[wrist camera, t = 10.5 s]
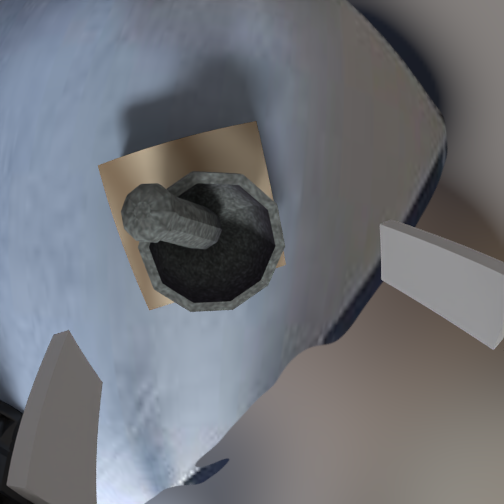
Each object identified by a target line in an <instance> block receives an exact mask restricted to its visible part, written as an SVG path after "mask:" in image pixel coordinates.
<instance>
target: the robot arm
mask: <svg viewBox="0 0 504 504" xmlns="http://www.w3.org/2000/svg"><path fill="white" fill-rule="evenodd" d="M380 240H381V280H383V281H385V282H386V283H388V284H390V285H391V286H393V287H395V288H397V289H398V290H400V291H401V292H403V293H405V294H406V295H408V296H410V297H411V298H413V299H415V300H416V301H418V302H420V303H421V304H423V305H424V306H426V307H428V308H429V309H431V310H432V311H434V312H436V313H437V314H439V315H440V316H442V317H444V318H445V319H447V320H448V321H450V322H452V323H453V324H455V325H456V326H458V327H459V328H461V329H462V330H464V331H465V332H467V333H468V334H470V335H472V336H473V337H475V338H476V339H478V340H479V341H481V342H482V343H484V344H485V345H487V346H488V347H490V348H491V349H493V350H494V349H495V348H496V347H497V345H498V344H499V343H500V342H501V341H502V339H503V337H504V262H502V261H500V260H497V259H495V258H493V257H490V256H488V255H486V254H483V253H481V252H478V251H476V250H473V249H471V248H468V247H466V246H463V245H461V244H458V243H456V242H453V241H451V240H448V239H445V238H443V237H440V236H437V235H434V234H432V233H429V232H426V231H423V230H421V229H418V228H415V227H412V226H409V225H406V224H403V223H400V222H397V221H394V220H389V221H387V222H384V223H381V224H380ZM102 383H103V382H102V381H101V380H100V378H99V377H98V375H97V374H96V372H95V371H94V370H93V368H92V367H91V365H90V364H89V362H88V361H87V359H86V357H85V356H84V354H83V353H82V351H81V350H80V348H79V346H78V345H77V343H76V341H75V340H74V338H73V336H72V335H71V333H70V331H69V330H67V331H64V332H61V333H58V334H54V335H53V338H52V340H51V342H50V344H49V346H48V349H47V351H46V353H45V356H44V358H43V361H42V363H41V366H40V368H39V371H38V373H37V376H36V378H35V381H34V384H33V386H32V389H31V392H30V395H29V398H28V401H27V404H26V407H25V410H24V413H23V414H22V413H20V412H19V411H17V410H16V409H14V408H13V407H11V406H10V405H8V404H6V403H4V402H2V401H0V504H97V500H96V454H97V434H98V421H99V410H100V400H101V391H102Z"/></svg>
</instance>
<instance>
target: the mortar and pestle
mask: <svg viewBox="0 0 504 504" xmlns="http://www.w3.org/2000/svg"><path fill="white" fill-rule="evenodd" d="M121 215H122V221H123V226H124V230H126V231H127V232H128V233H129V234H130V235H131V236H132V237H133V238H134V239H135V240H136V241H139V245H138V249H139V252H140V255H141V257H142V260H143V263H144V265H145V268H146V271H147V273H148V276H149V278H150V281H151V283H152V286H153V288H154V290H156V291H157V292H159V293H160V294H162V295H164V296H165V297H167V298H169V299H170V300H172V301H173V302H175V303H177V304H178V305H180V306H182V307H183V308H185V309H187V310H188V311H190V312H196V311H216V310H233V309H235V308H236V307H237V306H239V305H240V304H242V303H243V302H245V301H246V300H248V299H249V298H250V297H252V296H253V295H255V294H256V293H258V292H259V291H261V290H262V289H263V288H265V287H266V286H268V284H269V282H270V280H271V277H272V275H273V273H274V271H275V268H276V266H277V264H278V261H279V259H280V257H281V255H282V252H283V250H284V248H285V243H284V238H283V233H282V227H281V222H280V217H279V212H278V207H277V204H276V203H275V202H274V201H273V200H272V199H271V198H269V197H268V196H267V195H266V194H265V193H264V192H263V191H262V190H260V189H259V188H258V187H257V186H256V185H255V184H254V183H252V182H251V181H250V180H249V179H248V178H247V177H246V176H244V175H243V174H238V173H223V172H201V171H192V172H190V173H189V174H187V175H186V176H184V177H183V178H181V179H180V180H178V181H177V182H175V183H174V184H173V185H171V186H170V187H168V188H167V189H165V188H164V187H163V186H162V185H160V184H158V183H151V184H140V185H139V186H138V187H136V188H135V189H134V190H133V191H131V192H130V193H129V194H128V195H127V196H126V199H125V201H124V204H123V207H122V210H121Z"/></svg>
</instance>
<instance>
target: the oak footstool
mask: <svg viewBox="0 0 504 504" xmlns="http://www.w3.org/2000/svg"><path fill="white" fill-rule="evenodd" d="M98 168H99V171H100V175H101V179H102V182H103V186H104V189H105V192H106V196H107V199H108V202H109V205H110V209H111V212H112V215H113V218H114V221H115V224H116V227H117V230H118V233H119V235H120V238H121V241H122V244H123V247H124V249H125V252H126V255H127V257H128V260H129V262H130V265H131V268H132V270H133V273H134V275H135V278H136V280H137V282H138V285H139V287H140V290H141V292H142V294H143V297H144V299H145V301H146V304H147V306H148V308H149V310H152V309H155V308H158V307H162V306H165V305H168V304H171V303H174V302H173V301H172V300H170V299H169V298H167V297H165V296H164V295H162V294H160V293H159V292H157V291H156V290H154V288H153V286H152V283H151V281H150V278H149V276H148V273H147V271H146V268H145V265H144V263H143V260H142V257H141V255H140V252H139V249H138V245H139V241H136V240H135V239H134V238H133V237H132V236H131V235H130V234H129V233H128V232H127V231H126V230H124V226H123V221H122V215H121V210H122V207H123V204H124V201H125V199H126V196H127V195H128V194H129V193H130V192H131V191H133V190H134V189H135V188H136V187H138V186H139V185H140V184H151V183H158V184H160V185H162V186H163V187H164V188H165V189H167V188H168V187H170V186H171V185H173V184H174V183H175V182H177V181H178V180H180V179H181V178H183V177H184V176H186V175H187V174H189V173H190V172H192V171H201V172H223V173H238V174H243V175H244V176H246V177H247V178H248V179H249V180H250V181H251V182H252V183H254V184H255V185H256V186H257V187H258V188H259V189H260V190H262V191H263V192H264V193H265V194H266V195H267V196H268V197H269V198H271V199H272V200H273V196H272V191H271V186H270V182H269V177H268V172H267V167H266V163H265V158H264V154H263V149H262V144H261V140H260V136H259V131H258V127H257V122H256V121H254V122H249V123H244V124H239V125H234V126H229V127H225V128H220V129H216V130H212V131H208V132H203V133H199V134H195V135H192V136H188V137H184V138H180V139H177V140H173V141H170V142H166V143H163V144H160V145H156V146H153V147H150V148H147V149H144V150H140V151H137V152H134V153H131V154H128V155H126V156H123V157H120V158H117V159H114V160H112V161H109V162H106V163H103V164H101V165H98ZM284 265H286V263H285V257H284V252H282V255H281V257H280V259H279V261H278V264H277V266H276V268H278V267H281V266H284Z"/></svg>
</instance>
